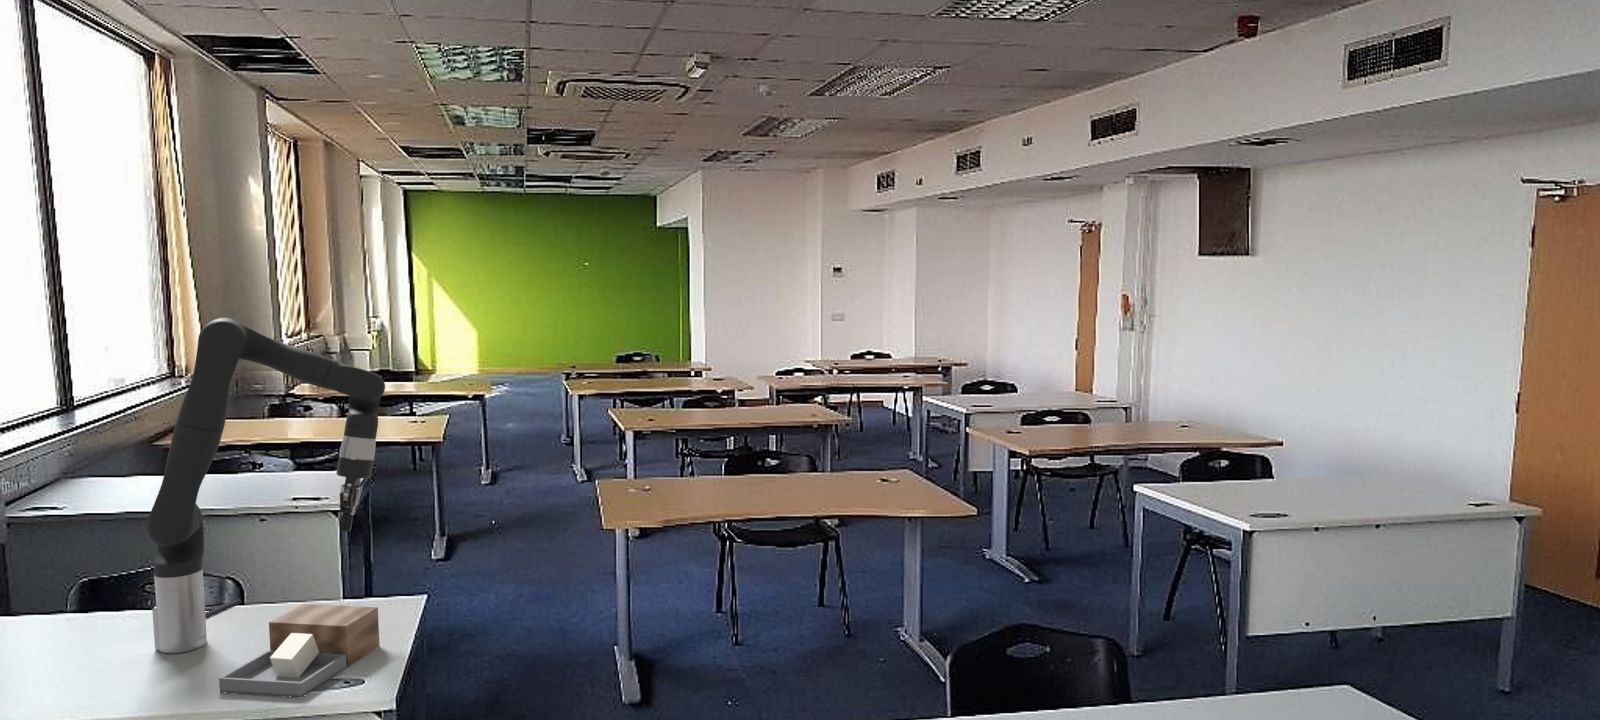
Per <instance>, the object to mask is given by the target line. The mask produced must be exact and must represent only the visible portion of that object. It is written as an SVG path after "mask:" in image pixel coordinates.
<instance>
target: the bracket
mask: <svg viewBox="0 0 1600 720" xmlns="http://www.w3.org/2000/svg"><path fill="white" fill-rule="evenodd" d="M240 604H242V600H241V598H237V599H235V600H232V601H231V602H228V603H225V604H220V605H214V606H205V611H209V612H207V613H205V617H206V618H207V619H209V618H211V617H210V616H212V615H214V616H216V615H218V614H220V613H219V612H221V611H223V610H225V609H227V608H229V609H231V608H230V607H232V608H234V607H236V606H238V605H240ZM227 610H228V609H227ZM225 611H226V610H225ZM223 612H224V611H223ZM217 613H218V614H217ZM221 613H222V612H221ZM215 614H216V615H215ZM208 617H209V618H208ZM212 617H213V616H212Z"/></svg>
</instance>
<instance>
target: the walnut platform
mask: <svg viewBox="0 0 1600 720" xmlns="http://www.w3.org/2000/svg"><path fill="white" fill-rule="evenodd" d="M379 626H380V625H379V609H378V606H358V605H335V604H319V603H318V604H316V603H314V604H313V603H303V604H301V605H299V606H296V607H295V608H293V609H291V610H289V611H288V612H286V613H284V614H282V615H280V616H278V617H276V618H274V619H272V620H270V621H268V632H269V633H268V634H269V650H274V651H276V650H277V649H278V648H279V647H280V645H281V644H282V643H283V642H284V641H285V640H286V638H287V637H288V636H289V635H290V634H291V633H302V634H313V636H314V639H315V642H316V644H317V647H318V650H319V653H328V654H346V663H347V668H349V667H351V666H352V665H354V664H355V663H356V662H359V661H360V660H362V659H363V658H364V657H366V656H367V655H369V654H370V653H372V652H373V651H375V650H377V648H379V647H380V631H379V630H380V629H379V628H380V627H379Z"/></svg>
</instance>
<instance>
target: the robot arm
mask: <svg viewBox="0 0 1600 720" xmlns="http://www.w3.org/2000/svg"><path fill="white" fill-rule="evenodd" d="M239 360H243V361H248V362H252V363H256V364H259V365H263V366H266V367H269V368H270V369H273V370H275V371H278V372H280V373H282V374H284V375H285V376H286V375H287V376H288V377H291V378H293V379H294V380H295V379H296V380H297V381H300V382H302V383H306V384H309V385H312V386H314V387H318V388H321V389H324V390H328V391H335V392H338V393H340V394H343V395H345V396H349V399H348V412H347V416H346V419H345V420H346V421H345V425H344V431H343V437H342V441H341V445H340V448H339V449H340V450H339V454H338V455H339V456H338V461H337V466H336V467H337V468H336V475H337V476H338V477H341V478H343V477H345V479H344V480H345V481H344V484H341V487H340V488H341V489H340V493H339V512H340V514H341V519H340V524H339V525H340V526H339V531H340V532H347V533H349V532H350V531H351V530H352V526H353V519H354V515H355V513H356V511H357V510H358V506H359V503H360V502H359V501H360V498H361V495H362V492H363V485H361V481H362V479H363V480H365V479H367V480H368V479H370V478H372V474H373V467H374V459H375V454H376V443H377V442H376V441H377V433H378V427H379V416H378V414H379V407H380V403H381V398H382V396H383V395H384V394H385V393H384V392H385V391H386V384H385V381H384V379H383V378H382V376H380V375H379V374H378V373H376V372H374V371H373V372H372V371H369V370H366V369H363V368H359V367H355V366H352V365H348V364H344V363H343V362H340V361H339V360H336V359H333V358H330V357H327V356H326V355H325V356H324V355H321V354H319V353H315V352H311V351H308V350H306V349H303V348H299V347H295V346H293V345H290V344H287V343H284V342H281V341H278V340H276V339H273V338H271V337H268V336H267V335H263V334H261V333H260V332H258V331H256V330H253V329H252V328H250V327H248V326H246V325H244V324H242V323H241V322H239V321H237V320H236V319H233V318H229V317H218V318H216V319H213V320H210V321H209V322H208V323H207V324H205V325H204V326H203V327H202V329H201V330H200V332H199V334H198V339H197V348H196V356H195V363H194V367H193V374H192V378H191V380H190V383H189V386H188V388H187V391H186V393H185V396H184V397H183V400H182V403H181V406H180V409H179V413H178V414H177V418H176V422H175V425H174V429H173V431H172V435H171V440H170V441H171V442H170V445H169V449H168V454H167V458H166V462H165V463H166V464H165V467H164V474H163V479H162V482H161V485H160V488H159V490H158V493H157V496H156V498H155V500H154V504H153V506H152V508H151V511H150V513H149V515H148V517H147V521H146V531H147V535H148V537H149V539H150V540H151V541H152V542H153V543H154V544H156V545H157V551H156V556H155V559H154V562H153V578H154V590H155V606H154V607H153V608H152V623H153V625H152V626H153V639H154V650H155V651H159V652H160V653H162V654H179V653H185V652H186V653H187V652H190V651H194V650H197V649H200V648H201V647H204V646H205V645H206V644H207V643H208V640H207V639H208V638H207V621H206V620H207V619H206V617H205V607H206V603H205V588H204V587H205V586H204V575H203V574H204V573H203V571H204V570H203V558H204V554H205V553H204V552H205V540H204V539H205V533H204V532H205V530H204V518H203V513H202V511H201V508H200V507H199V505H198V504H197V499H198V494H199V491H200V487H201V485H202V483H203V480H204V479H205V477H206V475H207V473H208V471H209V469H210V467H211V465H212V463H213V460H214V459H215V456H216V454H217V452H218V449H219V446H220V443H221V439H222V436H223V431H224V429H225V424H226V421H227V420H226V419H227V411H228V405H229V392H230V391H229V390H230V385H231V382H232V379H233V376H234V373H235V370H236V367H237V366H238V363H239Z"/></svg>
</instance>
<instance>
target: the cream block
mask: <svg viewBox="0 0 1600 720" xmlns="http://www.w3.org/2000/svg"><path fill="white" fill-rule="evenodd" d="M318 653H319V650H318V647H317V644H316V642H315V639H314V636H313V634H302V633H291V634H290V635H289V636H288V637H287V638H286V640H285V641H284V642H283V643H282V644H281V645H280V647H279V648H278V649H277V650H276V651H275V652H274V653H273V655H272V656H271V657H270V660H271V663H272V665H273V668H274V671H275V673H276V676H279V677H294V678H299V677H300V676H301V674H302V673H303V672H304V671H305V669H306V668H307V667H308V666H309V664H310V663H311V662H312V661H313V660H314V658H315V657H316V656H317V655H318Z"/></svg>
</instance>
